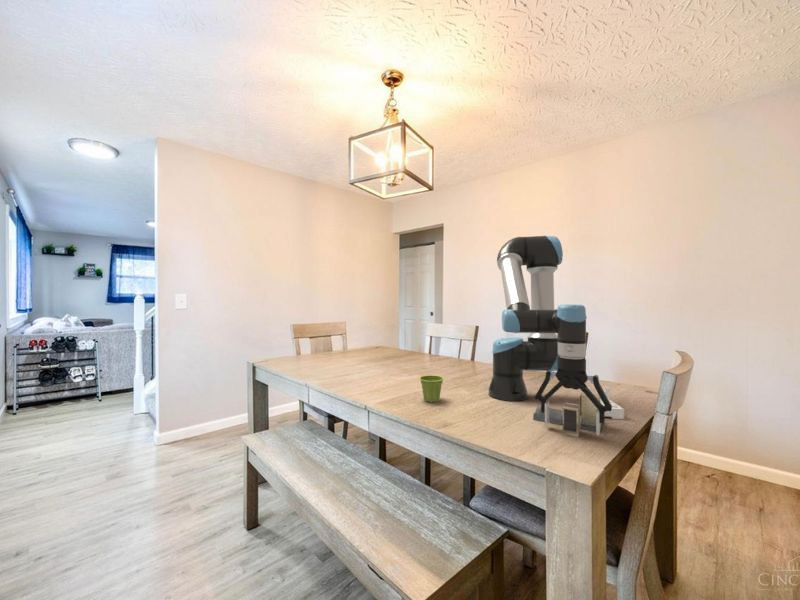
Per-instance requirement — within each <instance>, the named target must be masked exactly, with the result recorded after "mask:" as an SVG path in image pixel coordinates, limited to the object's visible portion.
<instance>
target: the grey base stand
mask: <svg viewBox="0 0 800 600" xmlns="http://www.w3.org/2000/svg"><path fill="white" fill-rule="evenodd" d="M594 393H595V392H593V394H594ZM594 396H595V397H596V398H597V399H598V400H599V401H600V403H601V398H600V396H599V394H594ZM579 405H580V430H581V429H582V430H586V431H591V432H596V411H597V408H596V406H595V405H594V404H593V403H592V402H591V400H590V399H589V398H588V397H587V396H586V395H585V393H584V392H582V393H580V396H579ZM532 420H534V421H540V422H544V421H545V413H542V412H541V404H538V406H537V408H536V409H535V412H534V413H533V414H532ZM549 422H550V423H551V424H555V425H561V426H563V409H558V408H557V409H556V408H551V407H549ZM550 423H549V424H550ZM602 427H603V423H600V432H601V430H602Z"/></svg>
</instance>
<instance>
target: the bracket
mask: <svg viewBox="0 0 800 600" xmlns="http://www.w3.org/2000/svg"><path fill="white" fill-rule="evenodd" d="M586 386H587V387H588V389H589V390H590V391H591V392H592V393H594V394H598V392H593V390H592V387H591V386H590V385H586ZM602 389H603V391H604V393H605V394H606V396H607V398H608V400H609V402H610V404H611V405H612V410H611V411H606V412H605V417H609V418H611V419H612V420H625V408H623V407H622V406H620V405H619V404H617V403H615V402H614V401H613V400H611V388H610V387H608V386H603V388H602ZM601 404H602V405H603V406H605V405H604V403H603V402H602V400H601Z"/></svg>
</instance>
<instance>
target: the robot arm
mask: <svg viewBox="0 0 800 600" xmlns="http://www.w3.org/2000/svg"><path fill="white" fill-rule="evenodd" d="M563 251H564V250H563V246H562V243H561V240H560V239H559V238H558V237H557V236H555V235H535V236H517V237H513V238H510V239H509V240H507V242H505V243H504V244H503V245H502V246H501V248H500V249H499V251H498V253H497V257H496V263H497V267H498V269H499V271H500V273H501V279H502V286H503V293H504V299H505V308H506V309H504V310H502V312H501V327H502V330H503V331H504V333H513V334H518V333H519V334H520V333H521V334H522V333H523V334H524V333H525V334H528V336H527V341H526V340H524V339H523V337H519V336H516V337H514V336H513V337H504V338H500V339H496V340H495V341H493V343H492V353H491V354H492V376H491V380H490V383H489V386H488V396H490V397H491V396H492V397H491V398H493V397H494V399H496V398H497V399H496V400H500V399H501V400H503V401H507V402H508V401H510V402H511V401H512V402H517V401H518V402H519V401H523V400H527V399H528V393H529V392H528V389H527V387H526V383H525V380H524V376H523V375H524V371H535V372H537V371H538V372H541V371H542V372H545V377H544V380H543V381H542V383H541V384H540V387H539V389H538V390H537V392H536V393H535V396H534V399H535V400H536V401H539V402H540V405H541V412H542V413H545V422H544V425H545V426H548V425H549V424H550V423H549V408H550V401H548V400H549V399H550V398H551V397H552V396H553V395H554V394H555V393H556V392H557V391H558V390H559V389H560V388H564V389H571V390H575V391H577V390H581V392H582V393H583V392H584V393H585V395H586V396H587V397H588V398H589V399H590V400H591V402H592V403H593V404H594V405H595V406H596V408H597V411H596V431H595V435H597V436H600V434H601V431H600V423H602V424H604V423H605V418H606V416H605V412H606V411H611V410H612V405H611V404H610V402H609V400H608V398H607V396H606V394H605V393H604V391H603V389H604V388H603V387H602V386H601V383H600V377H599V375H597V374H594V375H587V359H586V356H587V313H586V312H587V311H586V310H587V309H586V306H584V304H559V305H558V306H557V308H556V309H555V288H554V287H555V283H554V282H555V280H554V273H555V272H556V271H557V270H558V269H559V267H558V266H559V265H561V264H562V263H563V257H564V254H563V253H564V252H563ZM522 266H526V271H527V272H528V273H529V274H530V301H529V297H528V292H527V288H526V283H525V279H524V273H523V269H522ZM529 302H530V303H529ZM554 377H555V378H556V379H557V380H558V381H559V382H557V383H556V384H555V385H554V386H553V387H552V388H551V389H550V390H549V391H548V392H547V393H546V394H545V395H544V396H543V393H544V391H545V390H546V388H547V386H548V385H549V382H550V381H551V380H552V379H554ZM587 381H589V382H590V383H591V384H593V387H594V388H595V390H596V393H598V394H599V396H600V398H601V400H602V402H603V403H604V405H605V406H603V405H602V404H601V403H600V401H599V400H598V399H597V398H596V397H595V396H594V394H593V393H594V392H593V391H592V392H593V393H592V392H591V391H590V390H589V389H588V387H587V386H588V385H586V383H587ZM501 400H500V401H501Z"/></svg>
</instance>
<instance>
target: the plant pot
mask: <svg viewBox="0 0 800 600" xmlns="http://www.w3.org/2000/svg"><path fill="white" fill-rule="evenodd" d="M419 380H420V383H421V388H422V395H423V401H425V400H426V401H425V402H427V401H428V402H430V401H437V402H439V401H440V399H441V389H442V384H443V381H444V380H445V378H444V377H443V376H441V375H434V374H433V375H431V374H429V375H426V374H425V375H421V376H420V377H419ZM438 400H439V401H438Z"/></svg>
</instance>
